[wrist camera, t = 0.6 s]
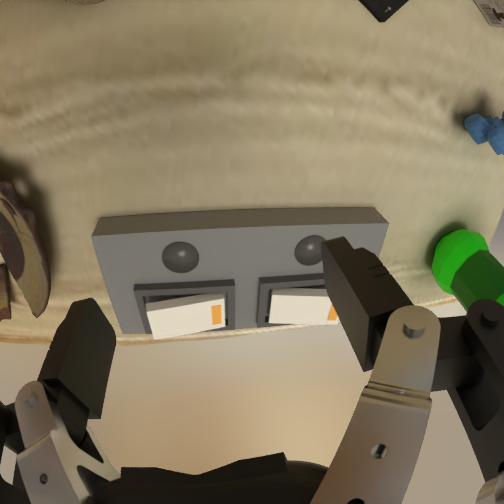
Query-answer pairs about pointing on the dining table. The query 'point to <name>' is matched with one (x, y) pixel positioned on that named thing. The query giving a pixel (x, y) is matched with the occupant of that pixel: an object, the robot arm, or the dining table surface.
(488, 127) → the grapes
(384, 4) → the handheld gaming console
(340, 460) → the robot arm
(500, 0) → the coffee box
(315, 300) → the right rocker
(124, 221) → the rocker switch panel
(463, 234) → the plastic bottle
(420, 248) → the dining table surface
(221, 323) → the left rocker
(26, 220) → the oil lamp
